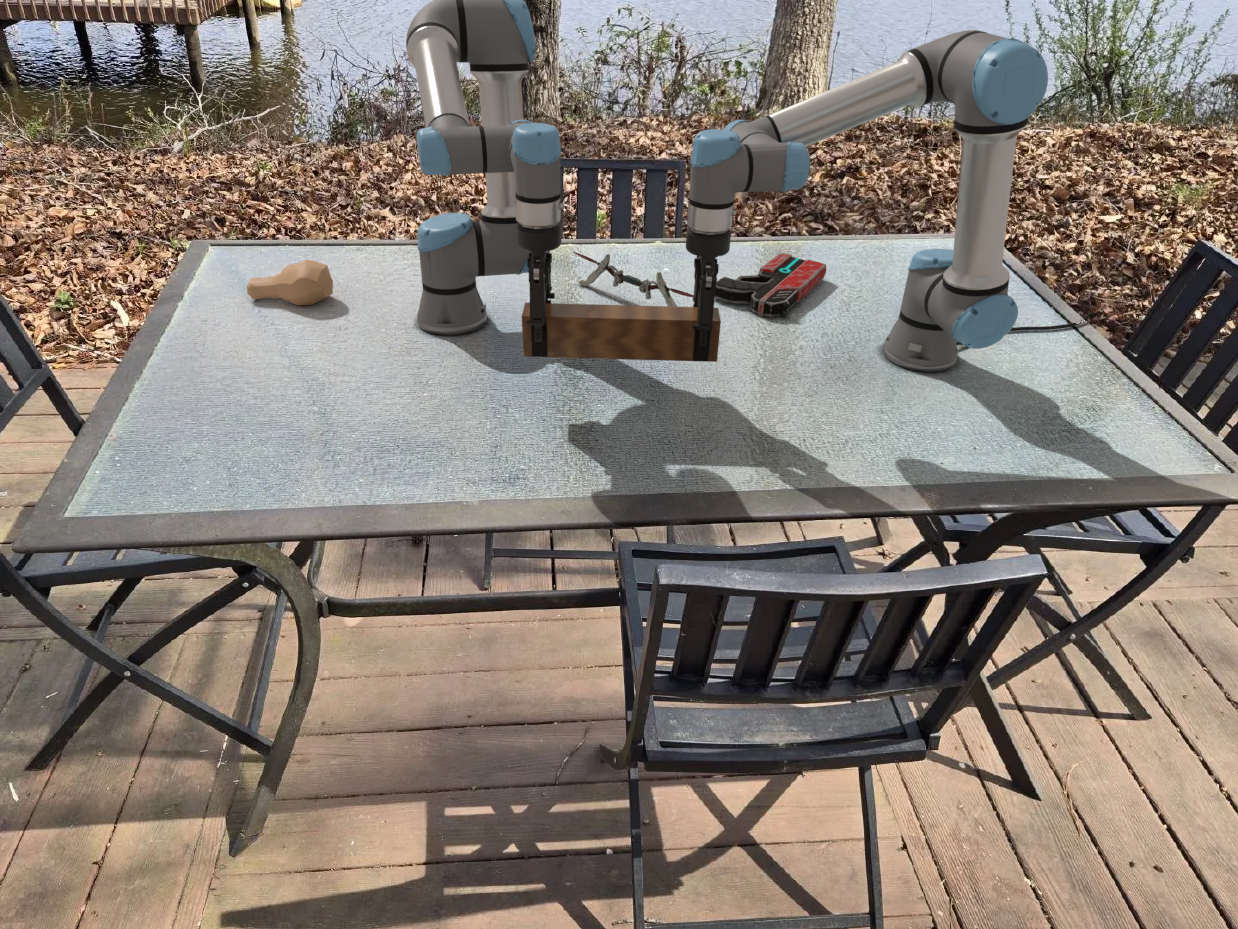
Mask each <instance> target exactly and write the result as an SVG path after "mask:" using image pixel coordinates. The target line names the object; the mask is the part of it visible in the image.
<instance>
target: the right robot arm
mask: <svg viewBox="0 0 1238 929" xmlns="http://www.w3.org/2000/svg"><path fill="white" fill-rule="evenodd" d="M1048 83H1049V71H1048V67H1047V63H1046V61H1045V58H1044V57H1043V55H1042V54H1041V53H1040V52H1039V51H1038V50H1037V48H1034V47H1033V46H1031V45H1029V44H1027V43H1026V42H1024V41H1022V40H1020V39H1016V38H1008V37H1005V36H1001V35H996V34H992V33H989V32H986V31H982V30H977V29H970V30H969V29H968V30H962V31H957V32H953V33H950V34H947V35H944V36H941V37H939V38H936V39H933V40H930V41H929V42H925V43H924V44H923V43H922V44H921V45H919V46H916V47H914V48H911V49H909V50H906V51H904V52H902V53H901V54H900V55H899V58H898V60H897V61H896V62H893V63H891V64H888V65H886V66H884V67H880V68H878V69H877V70H874V71H871V72H869V73H867V74H864V75H861V76H859V77H857V78H855V79H853V80H850V81H847V82H845V83H843V84H840V85H838V86H835V87H833V88H830V89H828V90H826V91H823V92H822V93H819V94H816V95H814V96H811V97H809V98H806V99H804V100H802V101H799V102H797V103H794V104H792V105H790V106H787V107H785V108H782V109H780V110H777V111H775V112H773V113H770V114H768V115H765V116H762V117H760V118H757V119H754V120H752V121H750V120H746V119H736V120H733V121H731V122H729V123H728V124H726V126H725V127H724V128H723V129H717V128H714V129H713V128H711V129H704V130H701V131H699V132H698V133H696V134H695V136H694V137H693V142H692V149H691V157H690V162H689V163H690V176H689V198H688V202H687V215H686V225H687V226H688V227H687V229H686V236H685V249H686V251H687V252H688V253H689V254H691V255H692V256H693V255H694V256H696V258H694V260H693V268H694V274H693V275H694V276H693V277H694V286H693V295H694V297H692V301H693V305H692V307H698V308H697V324H696V325H692V329H695V337H694V350H693V361H692V362H704V361H708V356H709V345H710V333H711V330H712V328H713V326H712V323H713V310H714V308H715V299H716V298H715V289H716V281H718V278H717V277H718V274H719V269H720V268H719V266H720V265H719V263H718V257H722V256H726V255H727V254H729V252H730V250H731V239H732V231H731V230H730V229H731V228H732V226H733V216H736V215H737V212H738V211H737V209H736V208H734V205H735V197H736V193H761V192H782V193H784V192H789V191H794V190H800V189H801V188H803V187H804V186H805V185H806V183H807V181H808V179H809V175H810V168H811V158H810V153H809V150H808V148H807V147H810V146H812V145H815V144H816V143H817V144H818V143H819V142H821V141H824V140H826V139H829V138H831V137H834V136H836V135H838V134H841V133H844V132H847V131H848V130H851V129H854V128H856V127H858V126H861V125H863V124H865V123H866V124H867V123H868V122H870V121H873V120H876V119H878V118H881V117H883V116H886V115H888V114H890V113H893V112H895V111H898V110H901V109H903V108H905V107H908V106H911V107H913V108H917V109H919V108H921V107H923V106H925V105H928V104H933V103H941V102H943V103H945V102H947V103H951V104H953V105H954V116H953V117H954V118H953V129H954V131H955V132H956V133H957V134H958V135H959V136H960V137H961V138H962V140H961V152H960V164H959V174H958V175H959V177H958V189H957V201H956V202H957V203H956V214H955V225H954V226H955V228H954V241H953V249H949V248H948V249H947V248H927V249H921V250H918V251H916V252H915V253H914V254H913V256H912V257H911V260H910V263H909V266H908V268H907V269H908V273H907V277H906V282H905V286H904V291H903V296H902V299H901V305H900V310H899V315H898V318H897V320H896V321H895V323H894V325H893V326H892V328H891V329H890V332H889V334H888V335H887V336H886V338H885V340H884V343H883V346H882V354H883V356H885V357H884V358H886V359H887V360H888V361H890V362H891V363H893V364H895V365H896V366H899V367H902V368H904V369H908V370H911V371H917V372H925V373H936V372H937V373H938V372H943V371H948V370H950V369H952V368H953V367H955V365H956V363H957V360H958V354H959V350H958V346H964V347H966V348H970V349H975V350H979V349H984V348H988V347H991V346H994V345H995V344H997V343H998V342H1000V341H1001V340H1003V338H1004V337H1005V336H1006V335H1008V334H1009V332H1018V331H1047V330H1048V331H1050V330H1059V329H1065V328H1071V327H1075V326H1078V325H1080V324H1076V323H1074V322H1070V323H1066V324H1057V325H1046V326H1018V327H1017V326H1015V324H1016V322H1017V320H1018V316H1019V315H1018V314H1019V308H1018V305H1017V303H1016V301H1015V300H1014V298H1012V296H1010V295H1009V294H1008V293H1009V285H1010V270H1008V268H1006V267H1005V266H1004V265H1003V259H1004V251H1005V244H1006V243H1005V242H1006V233H1007V225H1008V224H1007V223H1008V217H1009V216H1008V215H1009V208H1010V207H1009V206H1010V197H1011V189H1012V182H1013V180H1012V179H1013V173H1014V171H1013V170H1014V163H1015V154H1016V146H1017V137H1018V135H1019V134H1020V133H1021V132H1022V131H1023V130H1024V129H1026V127H1028V125H1029V117H1030V116H1032V115H1033V114H1034V113H1035V112H1036V110H1037V106H1038V105H1040V104H1041V103H1042V102H1043V100H1044V98H1045V95H1046V93H1047V90H1048ZM1089 318H1095V315H1094V313H1093V312H1092V311H1089V312H1088V313H1086V315H1084V317H1083V318H1082V319H1084V320H1085V322H1086V321H1087V320H1088V319H1089ZM1082 319H1081V321H1082ZM1080 323H1081V322H1080ZM1081 324H1082V323H1081ZM1014 326H1015V327H1014Z"/></svg>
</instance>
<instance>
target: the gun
mask: <svg viewBox="0 0 1238 929" xmlns="http://www.w3.org/2000/svg"><path fill="white" fill-rule="evenodd" d="M826 273H827V264H826V263H823V262H820V261H816V260H812V259H802V258H799V257H795V256H793V255H792V254H791V253H784V252H780V253H778V254H777V255H775V256H774V257H773V258H771V259H770V260H768V261H767V262H766V263H765V264H763V265H762V266H761V267H760V269H759V271H758V273H757V274H756V275H753V274H752V275H751V274H750V275H740V276H738V277H737V278H735V279H734V278H731V277H727V276H722V277H720V279H717V281H716V289H715V298H714V299H715V300H719V301H723V302H727V303H730V304H750V305H749V308H750V310H751V312H753V313H755V314H757V315H758V316H760V317H761V316H765V317H770V318H771V317H777V316H780V317H784V318H787V317H788V315H789V311H788V310H790V309H791V308H792V307H793V306H794V305H795V304H798V303H799V302H801V301H802V300H803V299H804V298H805V297H807V296H808V295H809V294H810V293H811V292H812V291H813V290H814V289H815V287H817V285H818V284H820V283H821V282H822V280H823V279H824V278H825V276H826Z"/></svg>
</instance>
